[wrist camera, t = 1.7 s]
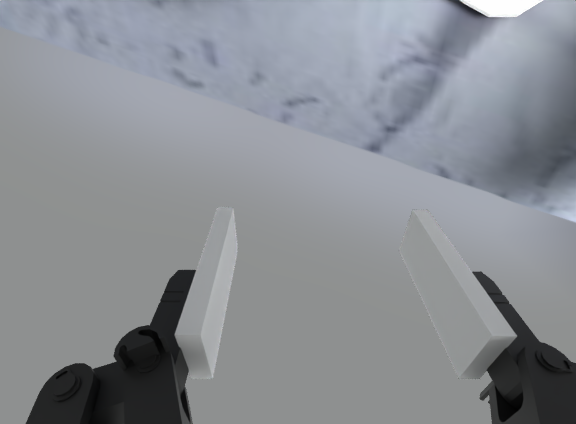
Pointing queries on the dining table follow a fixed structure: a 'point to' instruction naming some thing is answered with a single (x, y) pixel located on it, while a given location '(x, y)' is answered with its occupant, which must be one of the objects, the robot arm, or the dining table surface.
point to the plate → (501, 7)
